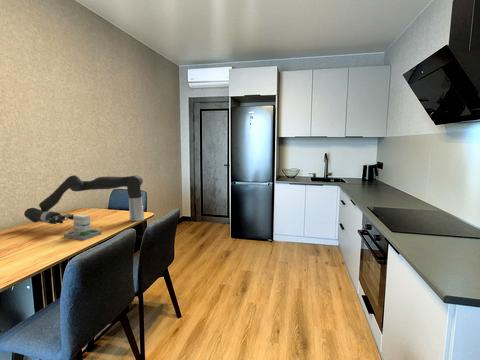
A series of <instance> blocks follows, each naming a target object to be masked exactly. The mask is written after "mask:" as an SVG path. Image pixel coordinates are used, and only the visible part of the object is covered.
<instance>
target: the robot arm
mask: <svg viewBox="0 0 480 360" xmlns="http://www.w3.org/2000/svg"><path fill="white" fill-rule="evenodd" d="M142 184H143V178H142V177H141V176H140V175H130V176H100V177H99V176H98V177H96V178H95V179H92V180H81V178H80V177H79V176H77V175H76V174H73V175H70V176H68V177H67V178H66V179H64V180H63V182H62V183H61V184H60V185H58V187H57V188H56V189H55V190H54V191H53V192H52V193H51V194H50V195H49V196H47V197H46V198H44V199H43V200H42V201H41V202H39V204H38V206H39V207H38V208H35V207H29V208H27V209H26V210H25V211H24V213H23V214H24V217H25V218H27V219H28V220H29V221H31V222H32V223H38V222H40V223H45V224H50V225H57V224H64V221H66V222H67V221H69V220H71V221H74V220H73V216H75V215H74V214H68V213H66V214H61V213H59V212H57V211H51V209H53V208H54V207H55V206H56V205H57V204H58V203H59V202H60V200H61V199H62V197H63V195H64V194H65V193H66V192H67V191H68V190H69V189H70V190H71V192H84V191H90V190H91V191H93V190H112V189H113V190H114V189H117V188H122V187H123V188H124V187H126V188H127V189H126V190H127V194H128V206H129V207H128V211H129V213H128V214H129V221H130V222H140V221H143V220H144V219H145V215H144V210H145V209H144V205H143V193H142V190H141V186H142ZM39 208H40V209H39Z"/></svg>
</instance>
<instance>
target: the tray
mask: <svg viewBox="0 0 480 360" xmlns="http://www.w3.org/2000/svg"><path fill="white" fill-rule="evenodd" d="M102 232H103V231H102V230H99V229H92V228H91V234H89V235H87V236H80V235H75V234H74V230H71V231H68V232H66V233H63V238H67V239H68V238H69V239H74V240H79V241H86V240H88V239H91V238H93V237H94V238H95V237H97V236H100V235H102V234H103V233H102Z"/></svg>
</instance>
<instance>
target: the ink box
mask: <svg viewBox="0 0 480 360" xmlns="http://www.w3.org/2000/svg"><path fill="white" fill-rule="evenodd" d="M90 217H91V216H90V215H85V214H78V215H74V216H73V220H72V221H73V231H74V234H75V235H80V236H87V235H89V234H91V229H92V227H91V218H90Z"/></svg>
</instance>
